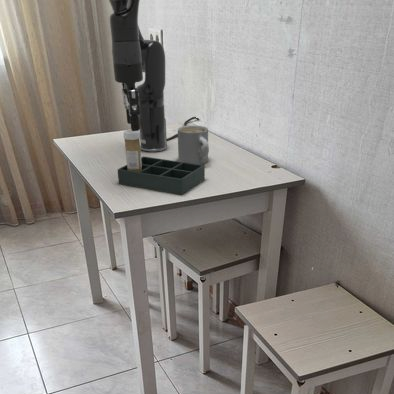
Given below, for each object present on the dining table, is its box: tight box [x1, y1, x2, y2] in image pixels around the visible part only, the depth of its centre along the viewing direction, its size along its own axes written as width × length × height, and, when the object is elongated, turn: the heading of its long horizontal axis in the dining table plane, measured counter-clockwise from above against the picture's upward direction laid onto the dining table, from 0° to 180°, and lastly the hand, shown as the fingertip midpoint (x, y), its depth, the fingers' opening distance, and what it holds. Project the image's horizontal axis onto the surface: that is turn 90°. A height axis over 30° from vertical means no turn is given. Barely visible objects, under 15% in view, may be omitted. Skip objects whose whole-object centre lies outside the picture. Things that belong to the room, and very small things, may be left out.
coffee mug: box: [177, 124, 210, 165], centre depth 157 cm, size 13×10×10 cm
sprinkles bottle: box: [123, 129, 142, 172], centre depth 140 cm, size 5×5×13 cm
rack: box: [116, 156, 206, 196], centre depth 143 cm, size 15×22×4 cm
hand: (133, 127), depth 135 cm, fingers open, 8 cm apart
